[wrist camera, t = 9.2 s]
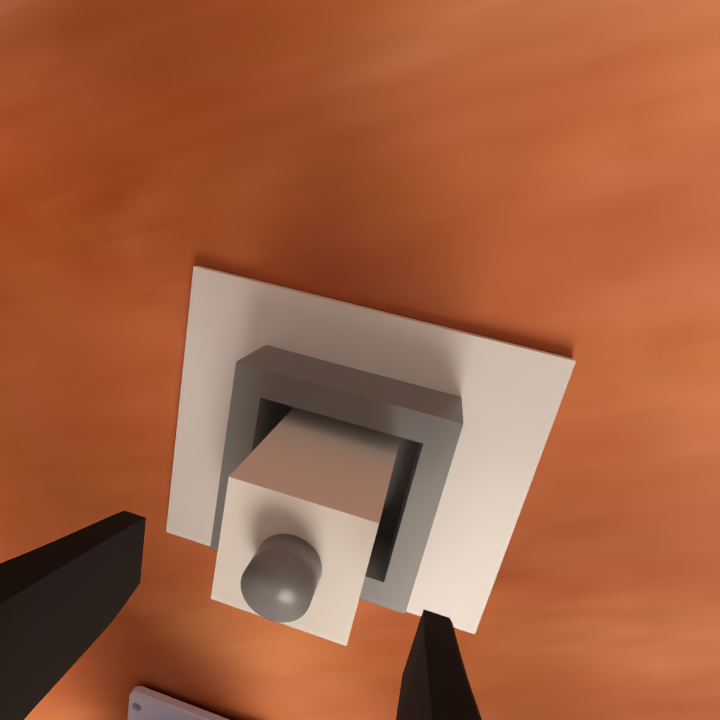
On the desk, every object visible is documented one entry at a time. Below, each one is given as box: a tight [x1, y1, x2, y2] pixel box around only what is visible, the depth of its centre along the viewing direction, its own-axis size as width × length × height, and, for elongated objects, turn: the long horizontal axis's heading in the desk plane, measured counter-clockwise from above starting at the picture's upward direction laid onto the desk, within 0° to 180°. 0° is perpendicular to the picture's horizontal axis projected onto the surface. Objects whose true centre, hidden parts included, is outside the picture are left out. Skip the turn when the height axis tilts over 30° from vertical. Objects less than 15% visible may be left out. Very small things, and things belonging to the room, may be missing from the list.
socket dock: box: [166, 266, 576, 634], centre depth 17 cm, size 12×14×3 cm
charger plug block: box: [211, 407, 401, 646], centre depth 14 cm, size 4×4×7 cm
